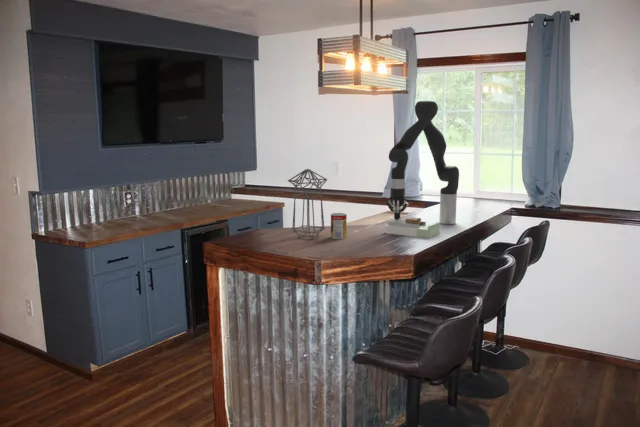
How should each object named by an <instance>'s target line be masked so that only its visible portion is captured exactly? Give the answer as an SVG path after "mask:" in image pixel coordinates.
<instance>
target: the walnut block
mask: <svg viewBox="0 0 640 427" xmlns="http://www.w3.org/2000/svg"><path fill="white" fill-rule="evenodd" d="M405 220H406V223H412V224H419V226H421V221H422V218H421V217H413V216H412V217H411V216H409V217H407V218H405Z"/></svg>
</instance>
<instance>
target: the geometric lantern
mask: <svg viewBox="0 0 640 427" xmlns="http://www.w3.org/2000/svg"><path fill="white" fill-rule="evenodd" d="M307 175H308V177H307ZM317 176H318V177H320V178H318V177H317ZM293 179H294V180H293ZM305 180H306V181H308V182H304V181H305ZM312 181H313V182H312ZM327 181H328V178H327V177H324V176H323V175H320V174H318V173H317V172H316V171H315V172H314V171H313V170H312V169H310V168H306V169H304V170H303V171H301V172H299V173H298V174H296V175H295V176H292V177H291V178H290V179H288V180H287V182H289V183H290V184H292V185H293V186H294V188H293V197H294V201H293V214H292V217H293V218H292V228H291V229H292V231H293V233H295V234H296V235H297V239H299V240H308V241H312V240H316V239H318V238H319V234H320V233H321V232H323V231H324V230H325V220H324V218H325V217H324V209H323V206H324V205H323V197H322V196H323V194H322V187H323V186H324V185H325V183H326V182H327ZM304 184H305V185H304ZM302 185H304V186H302ZM309 185H311V186H310V187H309V189H308V190H307V192H306V190H305V189H304V188H306V187H307V186H309ZM313 186H315V187H316V189H315V192H314V193H312V195H313V196H312V197H310V196H309V195H310V193H309V192H310V191H311V189H312V187H313ZM296 189H297V191H296ZM299 190H302V191H303V192H302V193H299V194H298V192H299ZM318 190H319V192H320V194H319V193H317V191H318ZM300 195H303V196H300ZM315 195H316V196H315ZM299 196H300V198H303V199H302V200H303V201H302V202H303V204H302V221H301V222H302V224H301V226H297V227H296V198H299ZM317 197H318V198H319V197H320V213H321V216H320V218H321V226H316V225H315V214H314V212H315V210H314V199H315V198H317ZM305 199H306V217H307V218H306V225H304V222H305V221H304V219H305V216H304V215H305V214H304V213H305ZM310 199H311V205H312V206H311V207H312V222H313V223H312V225H310V224H311V223H310ZM304 227H306V230H305V229H304ZM300 228H302V229H303V230H297V229H300ZM311 228H313V231H311V230H310V229H311ZM316 228H317V229H318V230H316ZM307 234H308V235H307ZM311 234H312V235H311ZM303 237H309V238H303Z"/></svg>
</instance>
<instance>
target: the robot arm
mask: <svg viewBox="0 0 640 427" xmlns="http://www.w3.org/2000/svg"><path fill="white" fill-rule="evenodd" d="M438 110H439V107H438V104H437V102H436V101H433V100H420V101H417V102H416V103H415V106H414V112H415V116H416V118H417V121H416V122H414V124H412V125H411V126H410V127H408V128H407V129H406V131H405V132H404V133H403V135H402V136H401V138H400V140H399V141H398V142H397V143H395V145H394V146H393V147H392V148H391V149H390V151H389V152H388V159H389V161H390V162H391V163H396V166H395V167H392V168H391V171H390V172H391V173H390V174H391V176H390V185H389V186H390V192H389V193H390V197H389V200H388V201H386V202H385V204H386V206H387V207H388V209H389V210H390V211H391V212H392V213H393V217H394V220H399V219H401V213H402V212H404V211H405V210H406V209H407V207H408V206H409V205H410V203H409V202H407V201H406V198H405V197H406V196H405V195H406V182H405V181H406V179H405V178H406V177H405V176H406V175H405V174H406V168H407V164H408V161H409V153H408V152H407V151H409V150H411V149H412V147H413V146H414V144H415V142H416V141H417V139H418V137H419V136H420V135H421V133H422V132H423V133H424V136H425V139H426V141H427V145H428V147H429V150H430V153H431V155H432V158H433V162H434V165H435V170H436V174H437V177H438V179H439V180H440V181H442V182H446V183H447V185H446V186H444V187H441V188H440V192H439V194H440V195H439V200H440V201H439V204H440V205H439V221H438V222H440V224H443V225H455V224H456V221H457V197H458V196H457V195H458V189H459V182H460V181H459V180H460V170H459V168H458V167H457V166H456V165H447V164H446V161H445V158H444V156H445V153H446V150H447V141H446V140H445V137H444V135H443V133H442V132H441V131H440V129H439V128H438V127H437V126H436V125H435V124H434V123H433V121H432V120H434V118H435V117H436V115H437V114H438Z"/></svg>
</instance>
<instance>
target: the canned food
mask: <svg viewBox="0 0 640 427" xmlns="http://www.w3.org/2000/svg"><path fill="white" fill-rule="evenodd" d="M347 219H348V218H347V213H343V212H335V213H330V238H331V239H333V240H344V239H346V238H347V223H348V222H347Z"/></svg>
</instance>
